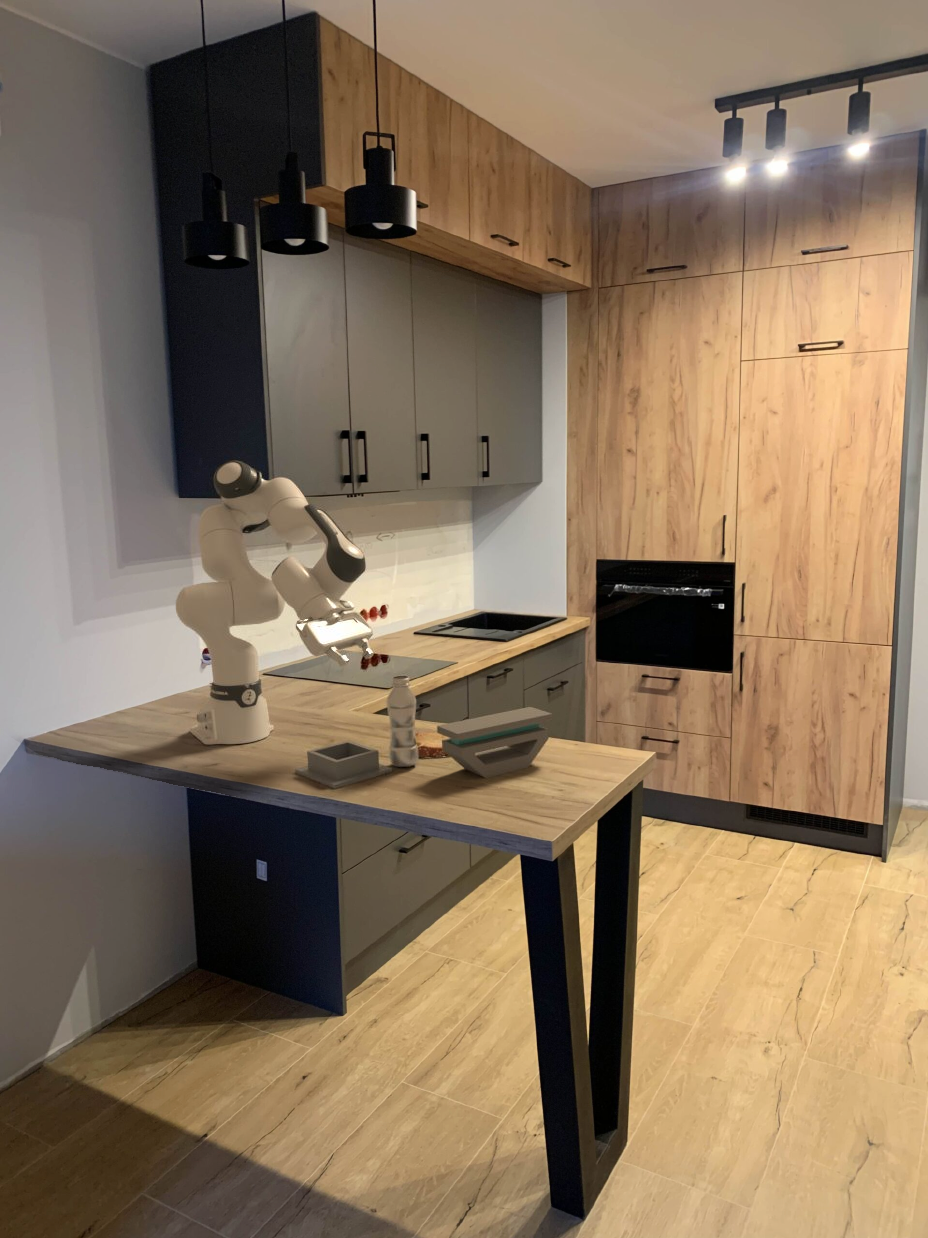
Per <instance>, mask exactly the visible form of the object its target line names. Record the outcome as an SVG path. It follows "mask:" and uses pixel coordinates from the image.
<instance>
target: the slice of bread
mask: <svg viewBox="0 0 928 1238" xmlns="http://www.w3.org/2000/svg"><path fill="white" fill-rule="evenodd" d="M415 735H416V742H417V746H418V751H419V756H420V757H419V758H423V757H437V758H444V757H443V756H448V757H450V756H449V755H448V754H447V753H446V752H444V751H443V750H442V740H444V739H449V737H446V736H444V735H441V734H439V733H437V732H430V733H429V732H428V733H424V732H423V733H419V732H417V733H415Z"/></svg>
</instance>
